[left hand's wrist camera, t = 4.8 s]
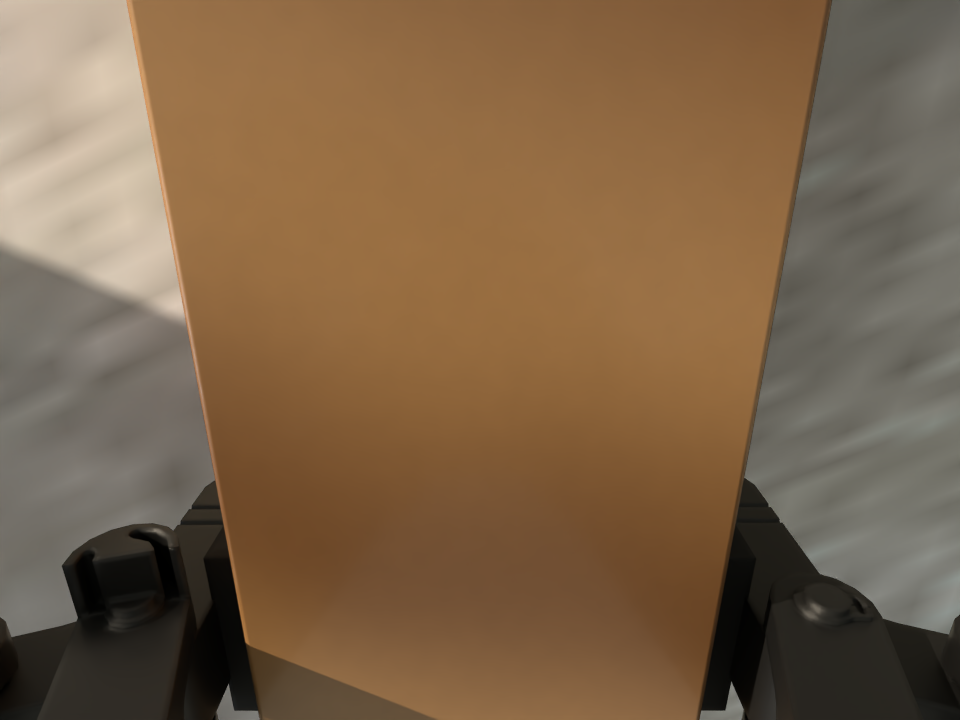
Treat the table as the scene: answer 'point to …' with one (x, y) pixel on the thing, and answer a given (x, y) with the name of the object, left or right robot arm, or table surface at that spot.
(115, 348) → the table surface
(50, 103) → the table surface
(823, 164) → the table surface
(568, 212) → the beam
